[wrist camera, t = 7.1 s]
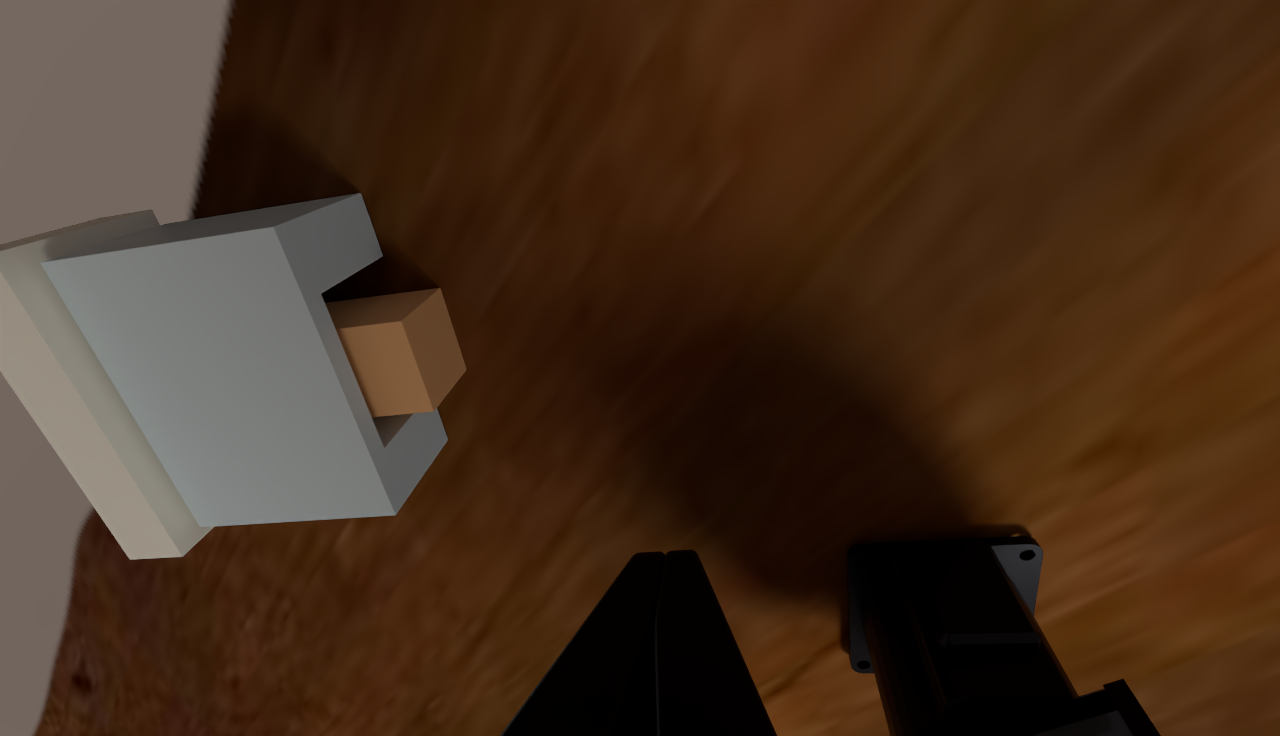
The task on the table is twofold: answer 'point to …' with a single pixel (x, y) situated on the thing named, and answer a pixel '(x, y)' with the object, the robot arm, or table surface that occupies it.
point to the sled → (248, 362)
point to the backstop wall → (86, 395)
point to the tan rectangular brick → (400, 350)
